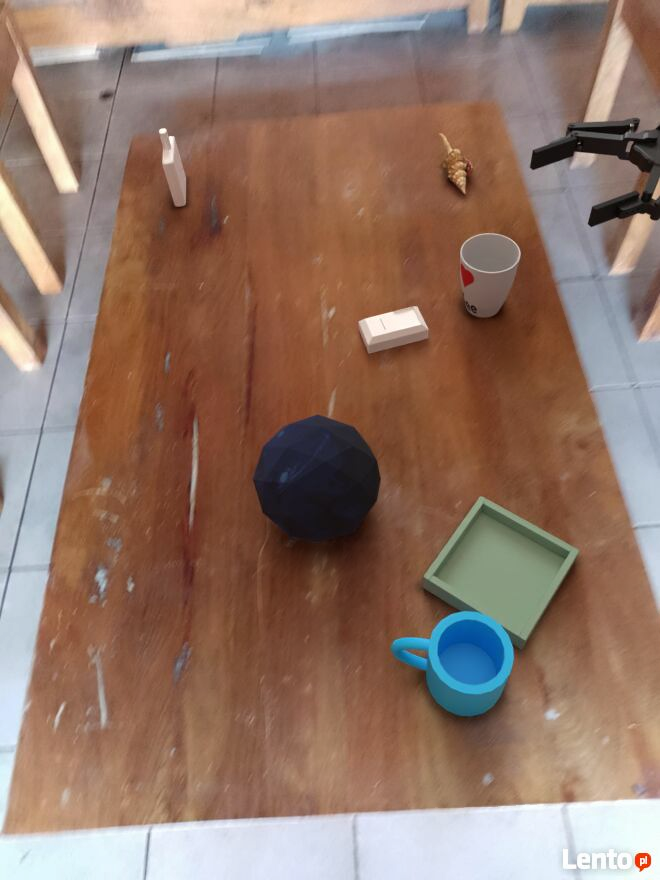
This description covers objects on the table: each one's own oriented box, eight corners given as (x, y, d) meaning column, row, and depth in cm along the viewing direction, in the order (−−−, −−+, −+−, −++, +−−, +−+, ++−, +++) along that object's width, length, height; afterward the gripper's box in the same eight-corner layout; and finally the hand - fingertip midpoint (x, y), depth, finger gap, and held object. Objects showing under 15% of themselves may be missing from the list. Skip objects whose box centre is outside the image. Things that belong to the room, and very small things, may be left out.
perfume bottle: (175, 179, 130) (157, 118, 120) (186, 178, 130) (169, 116, 120) (174, 207, 126) (155, 145, 116) (186, 205, 126) (167, 144, 116)
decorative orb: (232, 552, 80) (300, 490, 70) (233, 442, 89) (294, 373, 79) (338, 574, 87) (414, 520, 77) (329, 470, 96) (397, 410, 86)
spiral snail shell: (488, 188, 122) (492, 165, 118) (464, 198, 121) (467, 175, 117) (442, 150, 129) (444, 127, 126) (418, 159, 128) (420, 136, 124)
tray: (574, 561, 82) (580, 550, 80) (521, 650, 77) (525, 640, 75) (478, 507, 87) (480, 495, 85) (422, 587, 82) (422, 576, 80)
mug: (508, 648, 77) (518, 620, 71) (498, 725, 73) (508, 703, 66) (399, 623, 80) (398, 595, 73) (383, 696, 75) (381, 673, 69)
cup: (454, 286, 109) (458, 234, 101) (508, 285, 108) (517, 232, 100) (457, 325, 104) (462, 273, 96) (513, 324, 104) (523, 271, 96)
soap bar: (358, 330, 106) (358, 317, 103) (416, 315, 106) (417, 302, 104) (368, 353, 103) (368, 341, 101) (428, 338, 104) (428, 325, 101)
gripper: (749, 213, 94) (611, 266, 90) (631, 119, 108) (507, 162, 104) (773, 163, 88) (627, 218, 84) (645, 70, 101) (514, 114, 98)
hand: (560, 187), depth 94 cm, fingers open, 13 cm apart
